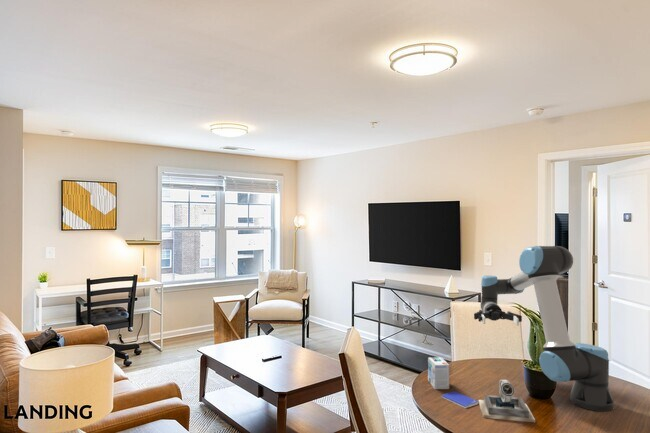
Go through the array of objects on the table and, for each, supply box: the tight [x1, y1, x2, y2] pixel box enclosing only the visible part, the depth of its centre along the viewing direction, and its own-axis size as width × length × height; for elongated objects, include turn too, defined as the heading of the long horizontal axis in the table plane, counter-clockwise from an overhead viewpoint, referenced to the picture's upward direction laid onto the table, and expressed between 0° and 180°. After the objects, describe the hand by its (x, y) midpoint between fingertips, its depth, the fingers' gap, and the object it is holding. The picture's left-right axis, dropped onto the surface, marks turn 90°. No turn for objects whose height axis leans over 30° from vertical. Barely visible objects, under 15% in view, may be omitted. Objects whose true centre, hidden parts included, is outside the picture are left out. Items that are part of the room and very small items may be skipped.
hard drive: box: [441, 390, 479, 409], centre depth 177 cm, size 2×8×12 cm
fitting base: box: [477, 394, 536, 423], centre depth 166 cm, size 18×14×4 cm
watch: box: [496, 379, 516, 408], centre depth 166 cm, size 6×8×11 cm
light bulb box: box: [427, 356, 450, 390], centre depth 194 cm, size 11×7×11 cm, turn 3°
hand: (500, 321), depth 187 cm, fingers open, 13 cm apart
